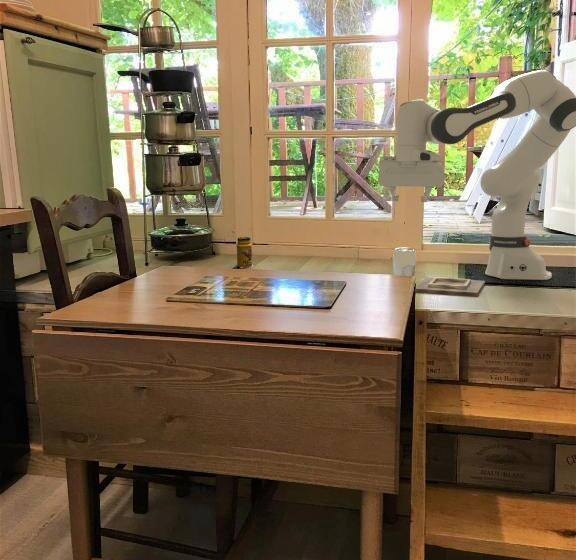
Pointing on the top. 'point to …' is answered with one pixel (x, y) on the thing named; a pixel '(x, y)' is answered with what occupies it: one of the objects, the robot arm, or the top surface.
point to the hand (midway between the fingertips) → (409, 201)
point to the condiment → (244, 253)
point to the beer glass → (404, 261)
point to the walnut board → (450, 286)
